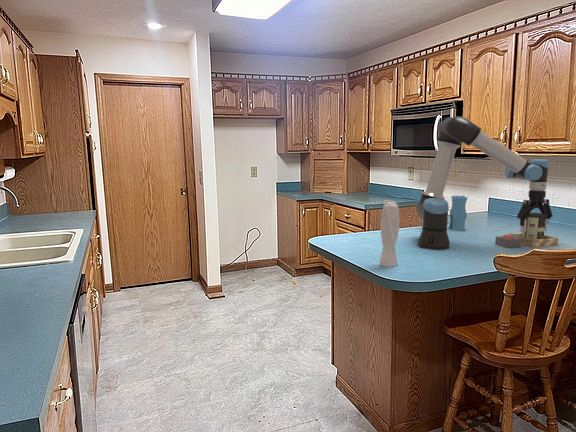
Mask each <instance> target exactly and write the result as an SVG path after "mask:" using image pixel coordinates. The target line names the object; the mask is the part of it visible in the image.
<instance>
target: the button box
mask: <svg viewBox="0 0 576 432" xmlns="http://www.w3.org/2000/svg"><path fill="white" fill-rule="evenodd" d="M503 236H504V235H500V236H495V240H494V242H495V244H494V245H497V246H499V247H501V248H502V247H503V248H506V249H507V248H509V249H511V248H512V249H513V248H521V245H522V244H521V239H519V238H515V237H513V239H505V238H503Z"/></svg>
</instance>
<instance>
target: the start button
mask: <svg viewBox="0 0 576 432" xmlns="http://www.w3.org/2000/svg"><path fill="white" fill-rule="evenodd" d="M502 236H503V238H505V239H513V235H508V234H507V233H506V234H503V235H502Z"/></svg>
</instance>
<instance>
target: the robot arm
mask: <svg viewBox="0 0 576 432" xmlns="http://www.w3.org/2000/svg"><path fill="white" fill-rule="evenodd" d="M436 143H437V144H438V148H437V152H436V155H435V159H434V161H433V165H432V168H431V173H430V176H429V179H428V183H427V186H426V190H424V191H423V192H422V193H421V195H420V199H419V200H418V202H417V203H416V208H415V209H416V213H417V215H418V216H419V218H420V219H422V227H421V228H422V229H421V233H420V235H419V237H418V240H417V246H418V247H420V248H423V249H428V250H437V251H438V250H447V249H450V245H451V243H450V239H449V238H450V237H449V235H448V219H449V218H448V217H449V211H450V210H449V202H448V201H447V200H446V198H445V197H444V192H445V188H446V185H447V181H448V178H449V174H450V171H451V169H452V166H453V165H452V164H453V161H454V158H455V154H456V151H457V149H459V148H460V147H461V145H462V144H465V145H467V146H469V147H470V146H472V147H473V148H475V149H477V150H478V151H480V152H481V153H483V154H484V155H487V156H488V157H489V158H491V159H492V160H494V161H495V162H497V163H499V164H500V165H502V166H503V167H505V168H504V175H505V176H506V178H508V179H519V180H524V181H525V180H526V181H528V182H529V186H528V189H529V190H528V196H527V197H528V198H529V199H523V201H522V204H521V207H520V210H519V211H518V213H517V216H516V218H517V219H519V220H520V221H519V226H520V229H519V233H522V232H524V233H525V232H526V222H527V220H525V219H526V217H527V216H528V215H529V213H532V211H533V210H534V209H538V210H539V211H540V213H541V214H546V221H545V231H544V232H547V230H548V224H549V221H550V219H552V218H553V213H552V210H551V209H552V208H551V206H550V199H548V198H546V194H547V185H548V184H547V182H548V174H549V165H550V163H549V160H548V159H544V158H543V159H539V158H538V159H537V158H536V159H534V158H533V159H531V162H530V161H528V160H527V159H526V158H524V157H522V156H520V155H519V154H518V153H516V152H515V151H513V150H511V149H510V148H508V147H507V146H505V145H503V144H502V143H500V142H499V141H497V140H495V139H494V138H492V137H491V136H489V135H488V134H486V133H485V132H483V130H482V128H481V127H479V126H478V125H477V124H476V123H474V122H472V121H471V120H470V119H468V118H467V117H464V116H458V115H457V116H453V117H452V116H451V117H448V118H446V119H444V120H443V121H441V123H440V124H439V127H438V137H437V140H436Z"/></svg>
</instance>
